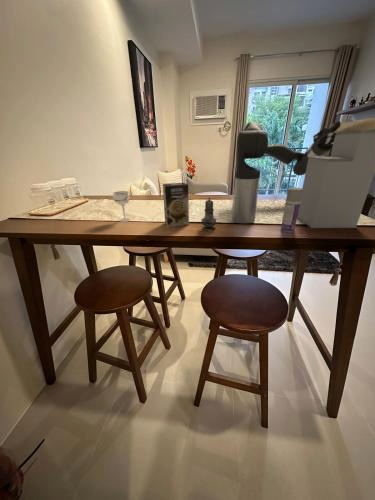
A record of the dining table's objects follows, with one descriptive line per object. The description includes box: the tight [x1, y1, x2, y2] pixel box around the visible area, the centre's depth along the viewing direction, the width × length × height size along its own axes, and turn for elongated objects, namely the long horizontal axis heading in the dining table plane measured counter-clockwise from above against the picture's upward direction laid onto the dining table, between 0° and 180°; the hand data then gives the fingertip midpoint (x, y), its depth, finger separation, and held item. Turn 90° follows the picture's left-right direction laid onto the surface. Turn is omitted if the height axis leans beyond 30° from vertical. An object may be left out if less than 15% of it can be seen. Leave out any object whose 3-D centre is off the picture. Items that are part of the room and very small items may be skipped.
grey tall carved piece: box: [201, 197, 218, 232], centre depth 80 cm, size 6×6×12 cm
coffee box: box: [162, 182, 190, 228], centre depth 85 cm, size 9×6×16 cm
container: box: [280, 187, 303, 233], centre depth 76 cm, size 5×5×15 cm
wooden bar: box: [331, 117, 375, 133], centre depth 73 cm, size 4×24×3 cm, turn 177°
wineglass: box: [112, 190, 131, 223], centre depth 93 cm, size 7×7×12 cm
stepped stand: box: [297, 129, 375, 229], centre depth 79 cm, size 16×14×32 cm
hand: (345, 123), depth 79 cm, fingers closed on wooden bar, 4 cm apart
